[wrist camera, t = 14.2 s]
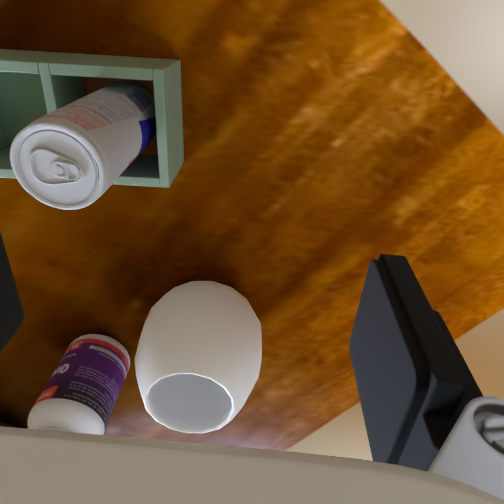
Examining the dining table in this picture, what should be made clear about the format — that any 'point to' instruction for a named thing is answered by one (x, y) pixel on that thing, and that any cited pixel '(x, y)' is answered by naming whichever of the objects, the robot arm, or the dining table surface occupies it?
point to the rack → (82, 84)
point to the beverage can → (84, 145)
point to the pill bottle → (82, 387)
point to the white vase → (198, 356)
